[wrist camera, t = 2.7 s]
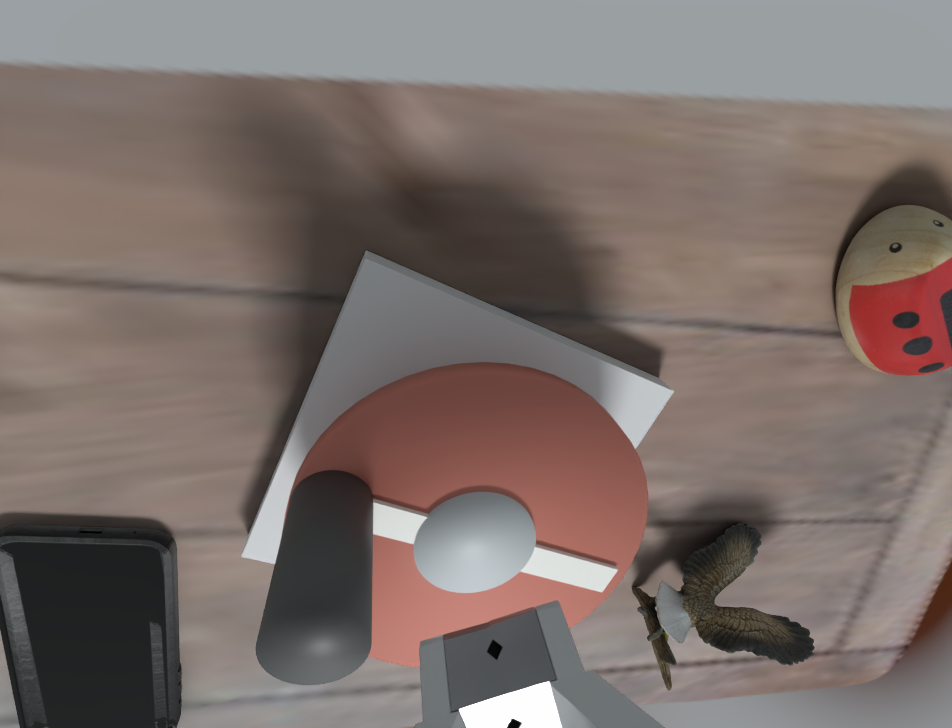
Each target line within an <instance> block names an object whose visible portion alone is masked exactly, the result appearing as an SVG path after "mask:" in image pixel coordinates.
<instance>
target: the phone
mask: <svg viewBox="0 0 952 728" xmlns="http://www.w3.org/2000/svg"><path fill="white" fill-rule="evenodd" d="M80 531H103V532H102V533H101V534H93V533H80ZM133 532H136V533H133ZM0 630H1V635H2V640H3V645H4V650H5V655H6V660H7V665H8V670H9V675H10V680H11V685H12V690H13V695H14V700H15V705H16V710H17V715H18V720H19V725H20V728H177V725H178V722H179V719H180V715H181V682H180V681H181V669H180V654H179V613H178V571H177V546H176V543H175V541H174V540H173V538H172V537H171V536H169V535H168V534H166V533H164V532H162V531H159V530H153V529H135V528H107V527H78V526H50V525H22V524H21V525H12V526H9V527H6V528H4V529H3V530H1V531H0Z"/></svg>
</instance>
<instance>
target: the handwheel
mask: <svg viewBox="0 0 952 728" xmlns="http://www.w3.org/2000/svg"><path fill="white" fill-rule="evenodd" d="M647 514H648V489H647V482H646V476H645V473H644V470H643V466H642V463H641V460H640V458H639V456H638V454H637V452H636V450H635V448H634V446H633V444H632V442H631V441H630V439H629V438H628V437H627V436H626V434H625V433H624V432H623V430H622V429H621V428H620V426H619V425H618V424H617V423H616V421H615V420H614V419H613V418H612V416H611V415H610V414H609V413H608V411H607V410H606V409H605V408H604V407H603V406H601V405H600V404H599V403H598V402H597V401H596V400H595V399H594V398H593V397H592V396H590V395H589V394H587V393H586V392H585V391H583V390H582V389H580V388H579V387H577V386H576V385H574V384H572V383H570V382H568V381H566V380H564V379H562V378H560V377H558V376H556V375H553V374H550V373H547V372H544V371H541V370H538V369H535V368H531V367H525V366H520V365H515V364H509V363H493V362H474V363H459V364H452V365H447V366H442V367H436V368H431V369H428V370H425V371H421V372H418V373H415V374H412V375H408V376H405V377H403V378H401V379H399V380H396V381H394V382H392V383H390V384H387V385H385V386H383V387H381V388H379V389H377V390H376V391H374V392H372V393H371V394H369V395H367V396H366V397H364V398H363V399H361V400H359V401H358V402H356V403H355V404H354V405H353V406H351V407H350V408H349V409H348V410H346V411H345V412H344V413H343V414H341V415H340V416H339V417H338V418H337V419H336V420H335V421H334V422H333V423H332V424H331V425H330V426H329V427H328V428H327V429H326V430H325V431H324V432H323V433H322V434H321V435H320V437H319V438H318V440H317V441H316V442H315V444H314V445H313V446H312V448H311V449H310V450H309V452H308V453H307V455H306V457H305V459H304V461H303V463H302V465H301V466H300V468H299V470H298V472H297V474H296V477H295V480H294V483H293V486H292V489H291V492H290V496H289V500H288V504H287V508H286V512H285V518H284V524H283V530H282V537H281V541H280V545H279V549H278V554H277V558H276V562H275V566H274V571H273V575H272V579H271V583H270V588H269V592H268V596H267V600H266V605H265V609H264V613H263V617H262V622H261V626H260V630H259V634H258V639H257V643H256V655H257V659H258V661H259V663H260V665H261V666H262V667H263V668H264V669H265V670H266V672H268V673H269V674H270V675H272V676H274V677H275V678H277V679H280V680H282V681H285V682H288V683H293V684H299V685H318V684H325V683H329V682H333V681H336V680H339V679H341V678H343V677H345V676H347V675H349V674H351V673H352V672H354V671H355V670H356V669H358V668H359V667H360V666H361V665H362V664H363V663H364V661H365V660H366V658H367V657H368V656H369V657H372V658H375V659H378V660H381V661H385V662H389V663H394V664H398V665H403V666H411V667H419V668H420V659H419V647H420V641H423V640H426V639H430V638H433V637H437V636H440V635H443V634H447V633H450V632H454V631H458V630H461V629H465V628H469V627H472V626H476V625H480V624H483V623H487V622H490V620H493V619H496V618H500V617H503V616H506V615H509V614H512V613H515V612H518V611H521V610H524V609H528V608H531V607H534V608H535V607H536V606H539V605H542V604H546V603H549V602H552V601H555V600H558V602H559V603H560V605H561V607H562V610H563V613H564V616H565V618H566V621H567V624H568V627H569V629H570V628H571V627H573V626H574V625H576V624H577V623H579V622H580V621H581V620H583V619H584V618H585V617H586V616H587V615H589V614H590V613H591V612H592V611H594V610H595V609H596V608H597V607H598V606H599V605H600V604H601V603H602V602H603V601H604V600H605V599H606V598H607V597H608V596H609V594H610V593H611V592H612V591H613V590H614V588H615V587H616V586H617V585H618V583H619V582H620V581H621V579H622V578H623V576H624V575H625V573H626V572H627V570H628V568H629V567H630V565H631V563H632V561H633V559H634V557H635V555H636V553H637V551H638V549H639V546H640V543H641V540H642V537H643V534H644V531H645V526H646V520H647Z"/></svg>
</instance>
